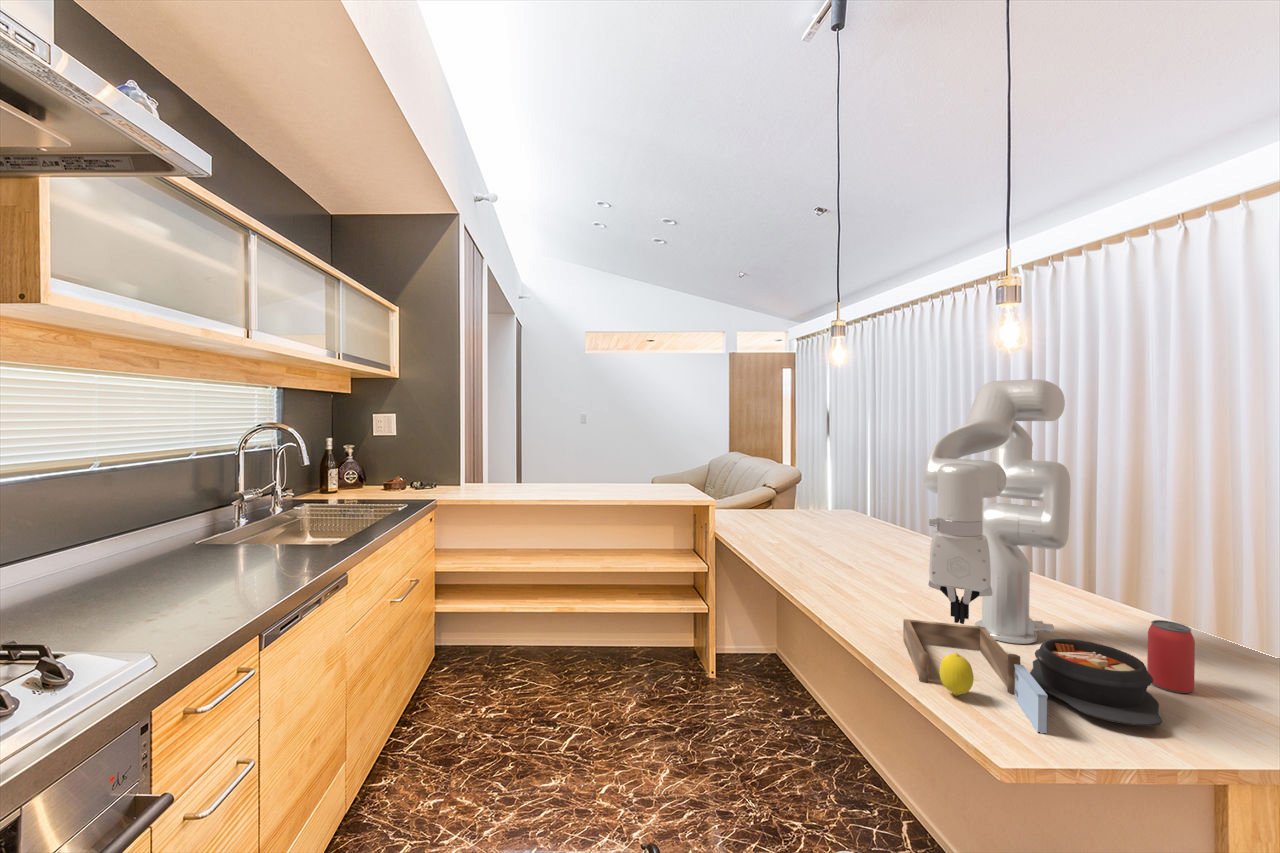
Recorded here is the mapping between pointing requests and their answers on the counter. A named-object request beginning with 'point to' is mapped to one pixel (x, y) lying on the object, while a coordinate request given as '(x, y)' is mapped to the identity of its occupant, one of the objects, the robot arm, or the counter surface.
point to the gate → (1031, 698)
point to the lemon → (956, 674)
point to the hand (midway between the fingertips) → (959, 621)
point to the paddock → (957, 646)
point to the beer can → (1171, 656)
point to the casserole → (1097, 681)
